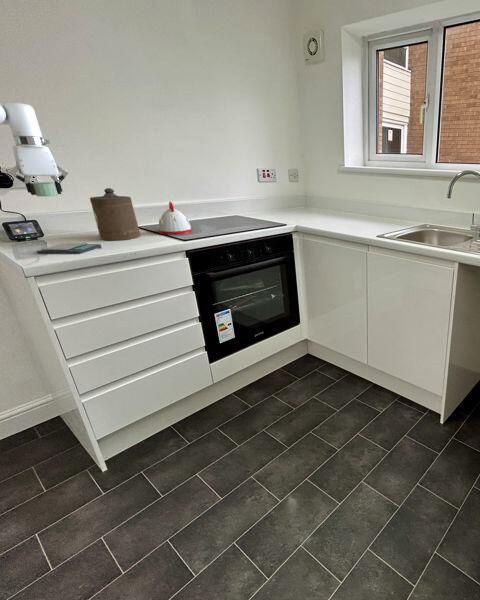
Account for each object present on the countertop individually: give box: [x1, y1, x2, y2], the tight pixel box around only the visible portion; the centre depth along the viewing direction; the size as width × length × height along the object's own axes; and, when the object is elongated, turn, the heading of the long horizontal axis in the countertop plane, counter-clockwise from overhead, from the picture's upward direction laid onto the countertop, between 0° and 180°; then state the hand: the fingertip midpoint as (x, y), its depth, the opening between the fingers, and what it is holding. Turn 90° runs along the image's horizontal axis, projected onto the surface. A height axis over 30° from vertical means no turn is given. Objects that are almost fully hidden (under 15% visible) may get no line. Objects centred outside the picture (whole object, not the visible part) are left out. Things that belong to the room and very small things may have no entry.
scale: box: [36, 242, 102, 255], centre depth 134 cm, size 14×12×3 cm
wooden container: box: [89, 187, 141, 241], centre depth 159 cm, size 15×15×22 cm
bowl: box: [30, 181, 59, 197], centre depth 131 cm, size 6×6×5 cm
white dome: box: [158, 201, 193, 236], centre depth 176 cm, size 14×14×15 cm
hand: (46, 193), depth 131 cm, fingers closed on bowl, 6 cm apart
